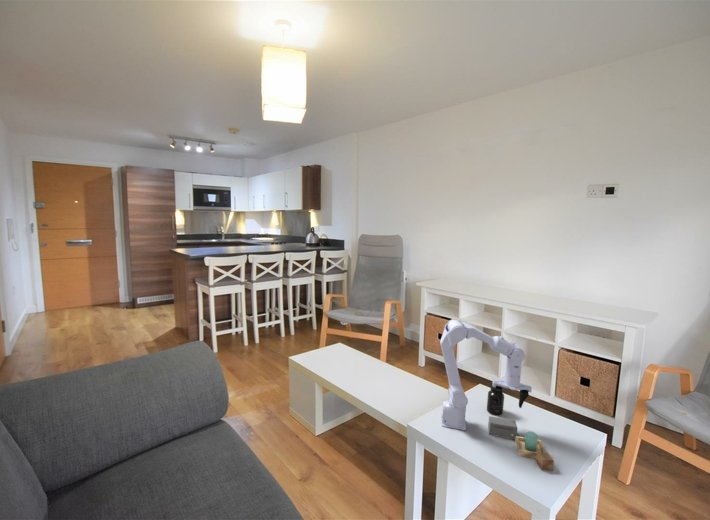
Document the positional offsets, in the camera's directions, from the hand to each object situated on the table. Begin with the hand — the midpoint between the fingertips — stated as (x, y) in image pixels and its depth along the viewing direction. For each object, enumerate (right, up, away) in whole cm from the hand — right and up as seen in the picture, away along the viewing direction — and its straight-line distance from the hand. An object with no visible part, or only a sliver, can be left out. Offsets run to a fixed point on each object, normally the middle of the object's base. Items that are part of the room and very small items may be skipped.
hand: (509, 405), depth 146 cm
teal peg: (+2, -11, -13) cm, 17 cm away
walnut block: (+3, -13, -21) cm, 25 cm away
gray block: (-5, -10, -3) cm, 11 cm away
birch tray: (+2, -12, -13) cm, 17 cm away
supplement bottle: (-1, -8, +13) cm, 15 cm away
